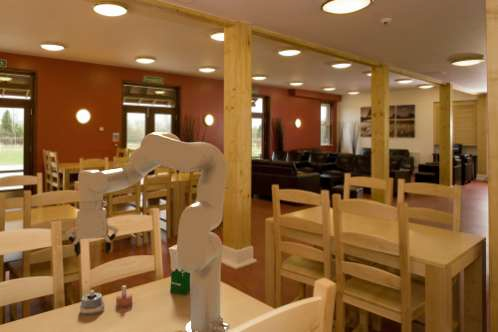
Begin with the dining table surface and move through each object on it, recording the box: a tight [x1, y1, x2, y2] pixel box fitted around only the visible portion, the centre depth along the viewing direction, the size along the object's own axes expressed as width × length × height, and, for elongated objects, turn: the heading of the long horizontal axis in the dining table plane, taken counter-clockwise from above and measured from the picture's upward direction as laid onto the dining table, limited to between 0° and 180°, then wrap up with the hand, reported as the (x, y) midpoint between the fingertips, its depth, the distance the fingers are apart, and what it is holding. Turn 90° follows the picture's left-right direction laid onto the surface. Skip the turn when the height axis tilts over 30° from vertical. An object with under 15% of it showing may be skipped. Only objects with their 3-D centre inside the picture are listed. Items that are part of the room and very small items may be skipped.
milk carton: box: [167, 244, 190, 296], centre depth 148 cm, size 9×9×20 cm
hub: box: [79, 289, 105, 317], centre depth 132 cm, size 8×8×7 cm
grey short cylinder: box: [80, 292, 103, 309], centre depth 132 cm, size 6×6×3 cm
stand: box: [115, 285, 133, 309], centre depth 136 cm, size 6×6×7 cm
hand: (93, 253), depth 131 cm, fingers open, 9 cm apart
